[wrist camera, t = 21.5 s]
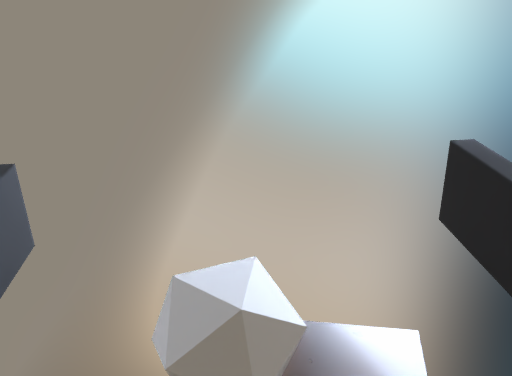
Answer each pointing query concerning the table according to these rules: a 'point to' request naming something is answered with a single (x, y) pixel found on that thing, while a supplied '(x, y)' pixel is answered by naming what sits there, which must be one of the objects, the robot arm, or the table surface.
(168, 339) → the die
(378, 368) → the shelf
